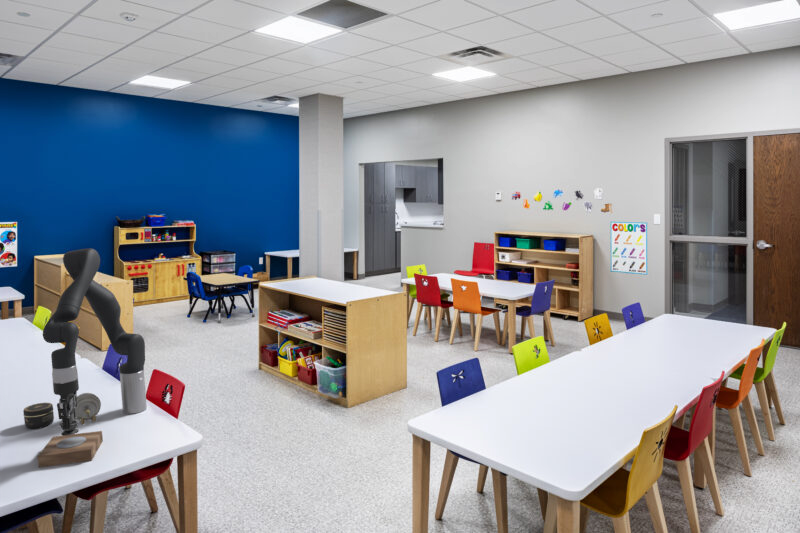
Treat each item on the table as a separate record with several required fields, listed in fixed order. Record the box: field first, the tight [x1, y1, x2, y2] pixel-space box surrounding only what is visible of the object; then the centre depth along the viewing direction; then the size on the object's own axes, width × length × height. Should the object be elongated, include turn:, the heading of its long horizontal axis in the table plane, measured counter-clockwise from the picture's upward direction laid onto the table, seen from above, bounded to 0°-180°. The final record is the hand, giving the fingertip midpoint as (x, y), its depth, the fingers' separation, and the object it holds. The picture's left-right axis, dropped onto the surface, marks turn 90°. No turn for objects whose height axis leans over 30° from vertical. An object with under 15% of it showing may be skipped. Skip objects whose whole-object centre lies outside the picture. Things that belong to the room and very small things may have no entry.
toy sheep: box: [75, 392, 102, 425], centre depth 222 cm, size 11×17×11 cm, turn 39°
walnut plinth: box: [37, 430, 104, 468], centre depth 193 cm, size 16×16×4 cm
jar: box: [22, 402, 55, 430], centre depth 218 cm, size 10×10×8 cm
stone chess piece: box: [59, 405, 80, 436], centre depth 191 cm, size 6×6×12 cm
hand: (69, 424), depth 192 cm, fingers closed on stone chess piece, 6 cm apart
